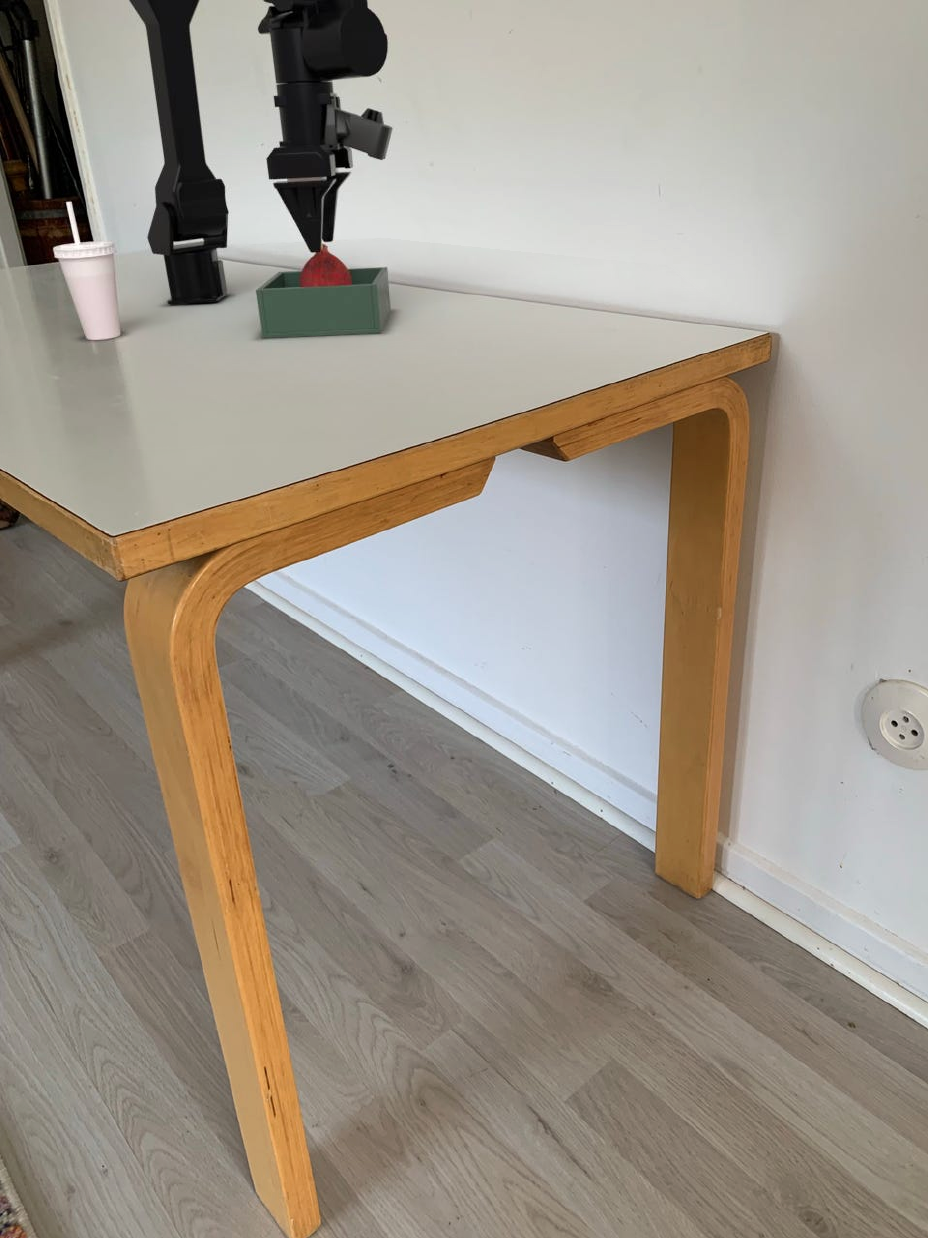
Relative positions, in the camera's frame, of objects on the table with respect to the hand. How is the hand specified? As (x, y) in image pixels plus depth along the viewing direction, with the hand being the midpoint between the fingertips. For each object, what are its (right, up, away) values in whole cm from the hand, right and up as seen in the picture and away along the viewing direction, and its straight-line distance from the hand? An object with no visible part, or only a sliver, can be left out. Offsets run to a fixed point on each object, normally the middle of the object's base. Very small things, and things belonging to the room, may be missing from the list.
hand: (322, 246), depth 104 cm
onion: (0, -7, +4) cm, 8 cm away
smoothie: (-25, -9, +4) cm, 27 cm away
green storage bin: (0, -7, +4) cm, 8 cm away
